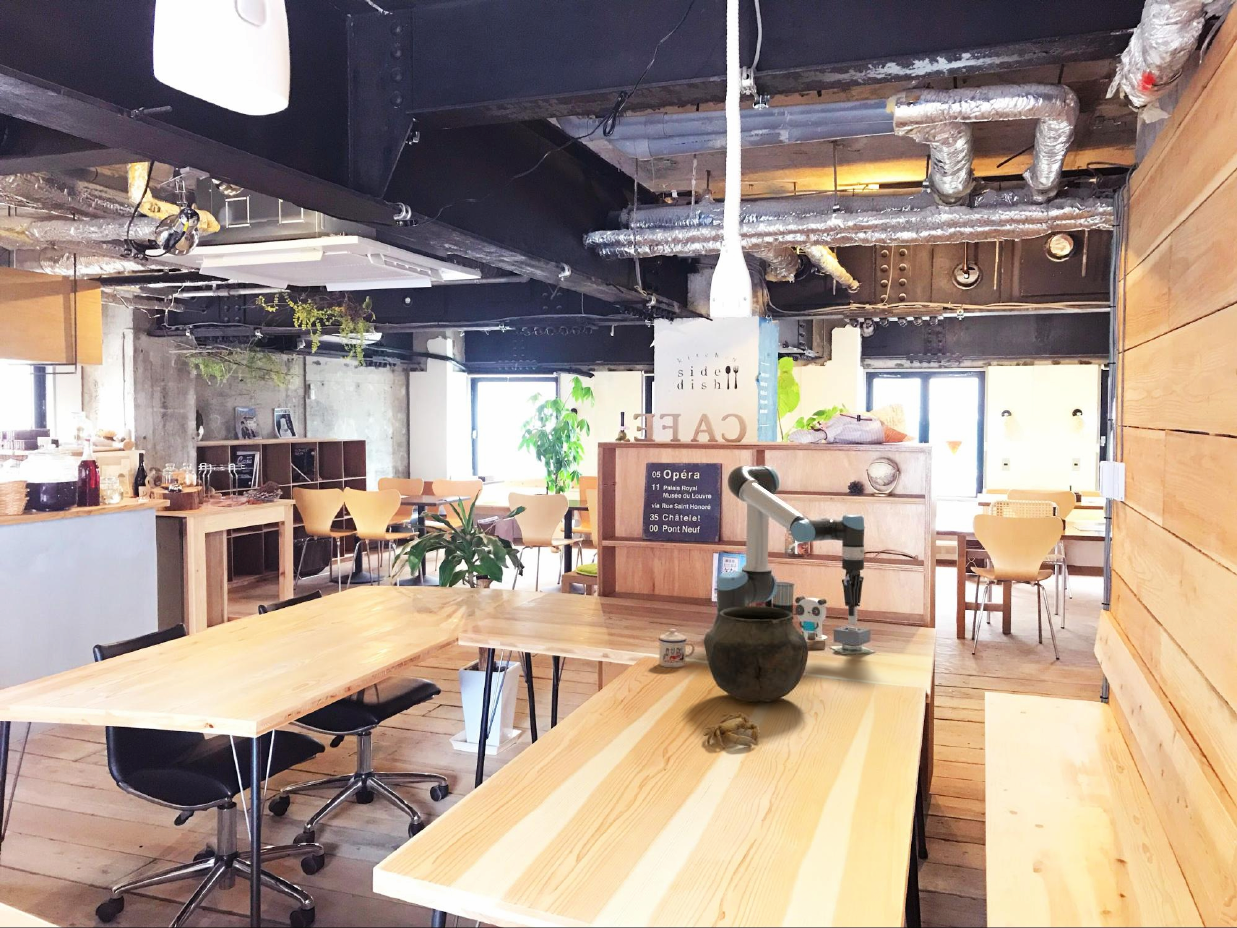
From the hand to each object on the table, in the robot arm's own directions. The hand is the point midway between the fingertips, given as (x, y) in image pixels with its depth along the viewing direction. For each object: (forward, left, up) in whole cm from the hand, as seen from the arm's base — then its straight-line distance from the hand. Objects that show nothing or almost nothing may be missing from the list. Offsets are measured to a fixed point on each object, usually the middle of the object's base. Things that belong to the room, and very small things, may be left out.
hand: (852, 624), depth 320 cm
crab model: (-79, -83, -10) cm, 115 cm away
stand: (-12, +8, -9) cm, 17 cm away
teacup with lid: (-68, -6, -9) cm, 69 cm away
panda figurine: (-4, +24, -9) cm, 26 cm away
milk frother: (-2, +61, -9) cm, 62 cm away
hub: (0, 0, -9) cm, 9 cm away
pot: (-59, -51, -9) cm, 79 cm away
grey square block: (0, 0, -6) cm, 6 cm away
